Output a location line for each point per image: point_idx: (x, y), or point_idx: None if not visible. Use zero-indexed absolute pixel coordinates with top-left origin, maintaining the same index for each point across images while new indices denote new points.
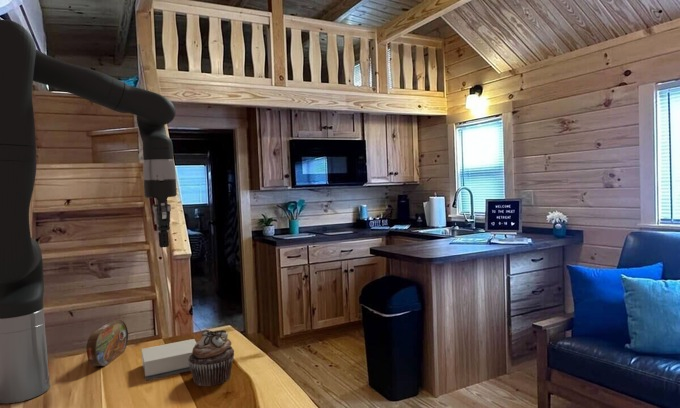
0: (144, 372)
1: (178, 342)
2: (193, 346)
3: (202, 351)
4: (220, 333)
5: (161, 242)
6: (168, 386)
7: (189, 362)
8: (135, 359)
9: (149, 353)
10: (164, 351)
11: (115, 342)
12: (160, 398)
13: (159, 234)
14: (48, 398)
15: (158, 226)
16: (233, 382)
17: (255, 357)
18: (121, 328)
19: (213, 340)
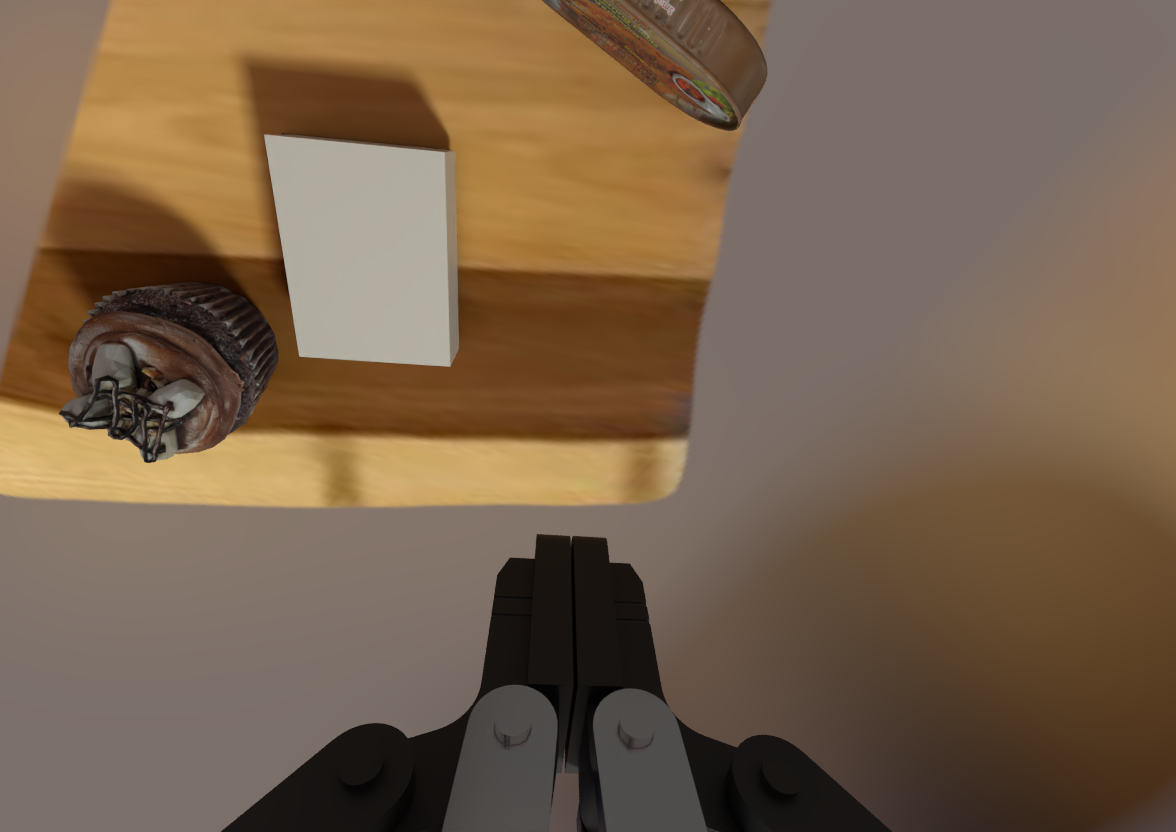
0: (351, 140)
1: (440, 306)
2: (359, 344)
3: (73, 343)
4: (131, 440)
5: (496, 586)
6: (198, 199)
7: (138, 288)
8: (540, 134)
9: (364, 173)
10: (356, 234)
11: (644, 52)
12: (102, 153)
13: (531, 667)
14: None
15: (370, 813)
16: None
17: (329, 486)
18: (712, 92)
19: (80, 400)
